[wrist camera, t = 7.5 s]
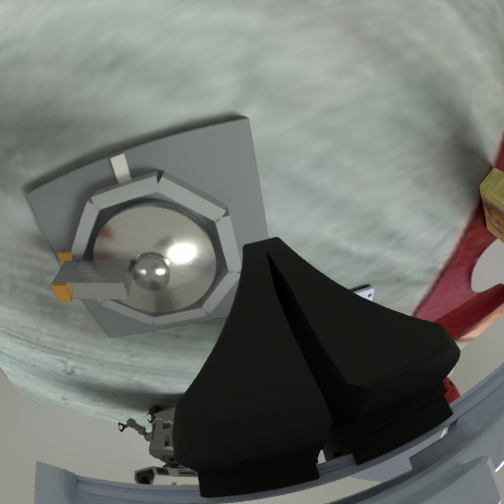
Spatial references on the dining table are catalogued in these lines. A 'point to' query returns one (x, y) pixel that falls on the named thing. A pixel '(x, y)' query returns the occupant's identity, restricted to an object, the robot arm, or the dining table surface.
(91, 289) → the dial
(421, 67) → the dining table surface
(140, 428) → the figurine
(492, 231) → the candy box
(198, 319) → the board
